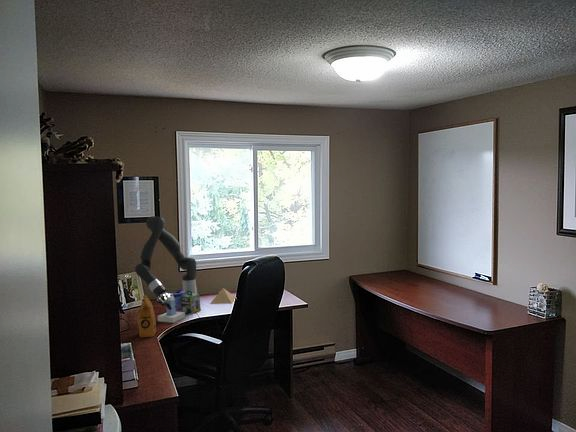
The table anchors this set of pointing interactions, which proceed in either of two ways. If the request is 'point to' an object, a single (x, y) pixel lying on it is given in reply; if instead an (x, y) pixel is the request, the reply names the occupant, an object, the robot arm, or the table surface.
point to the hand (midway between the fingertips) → (173, 308)
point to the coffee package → (146, 319)
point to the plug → (172, 303)
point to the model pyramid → (223, 298)
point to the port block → (171, 317)
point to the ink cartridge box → (178, 299)
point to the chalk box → (190, 303)
